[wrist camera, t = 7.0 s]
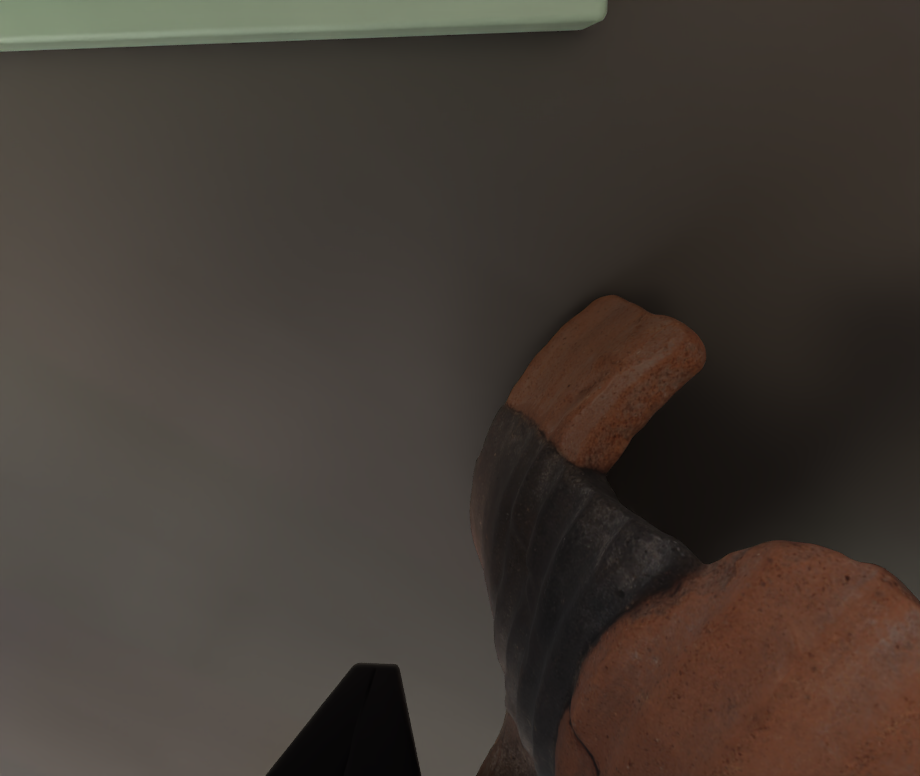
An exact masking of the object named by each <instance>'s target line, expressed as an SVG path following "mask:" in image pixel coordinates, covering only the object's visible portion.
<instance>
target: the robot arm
mask: <svg viewBox="0 0 920 776" xmlns="http://www.w3.org/2000/svg"><path fill="white" fill-rule="evenodd" d="M266 776H421V772H420V767H419V762H418V757H417V752H416V747H415V742H414V737H413V733H412V728H411V723H410V718H409V713H408V708H407V703H406V698H405V693H404V688H403V683H402V678H401V673H400V669H399V667H398V666H397V665H396V664H374V663H357V664H355V665H354V666H353V667H352V668H351V669H350V670H349V672H348V673H347V674H346V675H345V677H344V678H343V679H342V680H341V682H340V683H339V684H338V685H337V687H336V688H335V689H334V690H333V692H332V693H331V694H330V695H329V697H328V698H327V699H326V700H325V702H324V703H323V704H322V705H321V707H320V708H319V709H318V710H317V712H316V713H315V714H314V715H313V717H312V718H311V719H310V721H309V722H308V723H307V724H306V726H305V727H304V728H303V729H302V731H301V732H300V733H299V734H298V736H297V737H296V738H295V739H294V741H293V742H292V743H291V744H290V746H289V747H288V748H287V749H286V751H285V752H284V753H283V754H282V756H281V757H280V758H279V759H278V761H277V762H276V763H275V764H274V766H273V767H272V768H271V769H270V771H269V772H268V773H267V774H266Z"/></svg>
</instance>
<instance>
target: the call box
mask: <svg viewBox="0 0 920 776" xmlns="http://www.w3.org/2000/svg"><path fill="white" fill-rule="evenodd" d="M607 6H608V0H0V52H1V51H28V50H55V49H82V48H109V47H136V46H163V45H190V44H217V43H244V42H271V41H298V40H325V39H351V38H378V37H405V36H432V35H459V34H486V33H513V32H540V31H567V30H582V29H584V28H587V27H589V26H591V25H593V24H595V23H597V22H600V21H602V20H604V18H605V16H606V13H607Z"/></svg>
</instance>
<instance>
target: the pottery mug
mask: <svg viewBox="0 0 920 776" xmlns="http://www.w3.org/2000/svg"><path fill="white" fill-rule="evenodd" d="M705 361H706V350H705V346H704V344H703V343H702V341H701V339H700V338H699V336H698V335H697V334H696V333H695V332H694V331H693V330H692V329H691V328H689V327H688V326H687V325H685V324H684V323H682V322H680V321H678V320H676V319H674V318H672V317H669V316H666V315H654V314H652V313H650V312H648V311H646V310H645V309H643V308H642V307H640V306H638V305H636V304H634V303H631V302H629V301H627V300H625V299H623V298H621V297H619V296H617V295H608V296H604V297H600V298H598V299H596V300H594V301H593V302H592V303H591V304H589V305H588V306H587V307H586V308H585V309H584V310H583V311H581V312H580V313H579V314H577V315H576V316H574V317H573V318H572V319H571V320H569V321H568V322H567V323H566V324H564V325H563V326H562V327H561V328H560V329H559V331H558V332H557V333H556V334H555V335H554V336H553V337H552V338H551V340H550V341H549V342H548V343H547V345H546V346H545V347H544V348H543V349H542V350H541V351H540V352H539V353H538V354H537V355H536V356H535V357H534V359H533V360H532V361H531V363H530V364H529V366H528V367H527V369H526V370H525V372H524V373H523V375H522V376H521V378H520V379H519V381H518V382H517V383H516V384H515V386H514V387H513V389H512V391H511V393H510V395H509V397H508V399H507V401H506V403H505V404H504V405H503V406H502V407H501V408H500V410H499V411H498V413H497V415H496V416H495V418H494V420H493V423H492V425H491V427H490V429H489V432H488V434H487V436H486V439H485V442H484V445H483V448H482V451H481V453H480V455H479V457H478V459H477V460H476V466H475V469H474V476H473V486H472V493H471V501H470V522H471V531H472V536H473V540H474V544H475V547H476V550H477V553H478V556H479V559H480V561H481V564H482V567H483V570H484V575H485V581H486V585H487V590H488V595H489V600H490V605H491V610H492V615H493V618H494V640H495V647H496V651H497V656H498V660H499V662H500V664H501V667H502V669H503V671H504V673H505V688H506V697H505V706H506V708H507V709H506V715H505V719H504V723H503V726H502V729H501V731H500V734H499V736H498V737H497V739H496V741H495V744H494V745H493V747H492V748H491V749H490V751H489V753H488V755H487V757H486V758H485V760H484V762H483V764H482V765H481V767H480V769H479V772H478V773H477V775H476V776H920V602H919V600H918V599H917V598H916V597H915V596H914V595H913V594H912V593H911V591H910V590H909V589H908V588H907V587H906V586H905V585H904V584H903V583H902V582H901V581H900V580H899V579H898V578H897V577H895V576H894V575H893V574H891V573H890V572H889V571H887V570H886V569H885V568H883V567H880V566H878V565H876V564H871V563H863V562H858V561H855V560H853V559H850V558H848V557H847V556H845V555H844V554H842V553H839V552H837V551H834V550H831V549H828V548H826V547H823V546H820V545H816V544H811V543H802V542H792V541H787V540H774V541H769V542H764V543H761V544H759V545H756V546H753V547H750V548H746V549H743V550H739V551H736V552H732V553H730V554H728V555H726V556H725V557H723V558H722V559H720V560H718V561H716V562H714V563H711V564H703V563H702V562H701V561H700V560H699V559H698V558H697V557H696V556H695V555H694V554H693V553H692V552H691V551H690V550H689V549H688V548H687V547H686V546H685V545H684V544H683V543H682V542H681V541H679V540H678V539H677V538H675V537H672V536H670V535H668V534H665V533H663V532H661V531H660V530H659V529H657V528H656V527H655V526H653V525H651V524H649V523H648V522H647V521H646V520H644V519H643V518H642V517H640V516H638V515H636V514H635V513H633V512H631V511H630V510H629V509H627V508H626V507H625V506H623V505H622V504H621V503H620V502H619V500H618V498H617V496H616V494H615V493H614V491H613V490H612V489H611V487H610V485H609V483H608V481H607V479H606V475H607V473H608V471H609V470H610V469H611V468H612V466H613V465H614V464H615V462H616V461H617V460H618V459H619V458H620V457H621V455H622V453H623V452H624V450H625V449H626V447H627V446H628V444H629V442H630V440H631V439H632V437H633V436H634V435H635V434H636V433H638V432H639V431H640V430H641V429H642V428H643V427H644V426H645V425H646V424H647V423H648V421H649V420H650V418H651V417H652V416H653V415H654V414H655V413H656V412H657V411H658V410H659V409H660V408H661V407H662V406H663V405H664V404H665V403H666V402H667V401H668V400H669V399H670V398H671V397H672V396H673V395H674V394H675V393H676V392H677V391H678V390H679V389H680V388H681V387H682V386H683V385H684V384H685V383H686V382H687V381H689V380H690V379H691V378H692V377H694V376H695V375H696V374H697V373H698V372H699V371H701V370H702V368H703V366H704V364H705Z"/></svg>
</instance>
